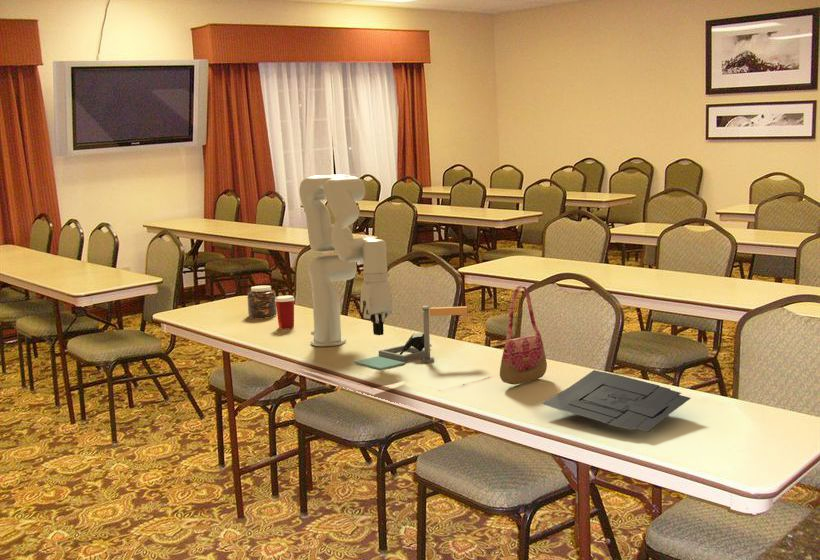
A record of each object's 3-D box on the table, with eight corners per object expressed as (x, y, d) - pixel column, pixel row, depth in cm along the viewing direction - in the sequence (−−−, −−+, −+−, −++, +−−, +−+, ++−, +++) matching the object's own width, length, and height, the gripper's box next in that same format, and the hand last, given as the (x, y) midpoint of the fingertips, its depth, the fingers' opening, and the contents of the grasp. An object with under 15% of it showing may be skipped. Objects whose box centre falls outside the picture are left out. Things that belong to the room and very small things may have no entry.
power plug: (398, 349, 293) (418, 326, 287) (417, 361, 294) (436, 338, 288) (395, 359, 288) (415, 335, 282) (414, 371, 289) (434, 347, 283)
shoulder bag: (506, 387, 246) (504, 290, 242) (499, 385, 248) (497, 289, 244) (547, 376, 256) (545, 283, 252) (540, 375, 258) (538, 282, 255)
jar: (278, 319, 371) (276, 284, 369) (275, 324, 359) (273, 288, 357) (250, 320, 370) (248, 285, 368) (247, 325, 358) (244, 289, 356)
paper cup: (300, 330, 342) (298, 295, 340) (287, 334, 335) (285, 298, 333) (285, 329, 346) (283, 294, 344) (272, 333, 340) (270, 297, 338)
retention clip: (467, 319, 280) (466, 304, 280) (467, 321, 278) (467, 305, 277) (422, 321, 280) (421, 306, 280) (422, 323, 278) (421, 307, 277)
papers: (643, 445, 203) (642, 431, 202) (541, 413, 224) (540, 400, 223) (695, 404, 219) (695, 391, 217) (595, 378, 240) (594, 366, 239)
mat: (354, 363, 283) (354, 361, 283) (378, 358, 289) (378, 356, 289) (381, 370, 272) (380, 368, 272) (405, 364, 279) (405, 362, 278)
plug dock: (378, 356, 291) (376, 305, 289) (403, 351, 298) (401, 300, 296) (417, 365, 276) (415, 311, 274) (443, 359, 283) (441, 306, 281)
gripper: (386, 274, 284) (389, 329, 287) (350, 280, 275) (353, 336, 277) (401, 276, 279) (403, 332, 281) (364, 281, 269) (367, 339, 271)
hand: (378, 334), depth 279 cm, fingers closed
